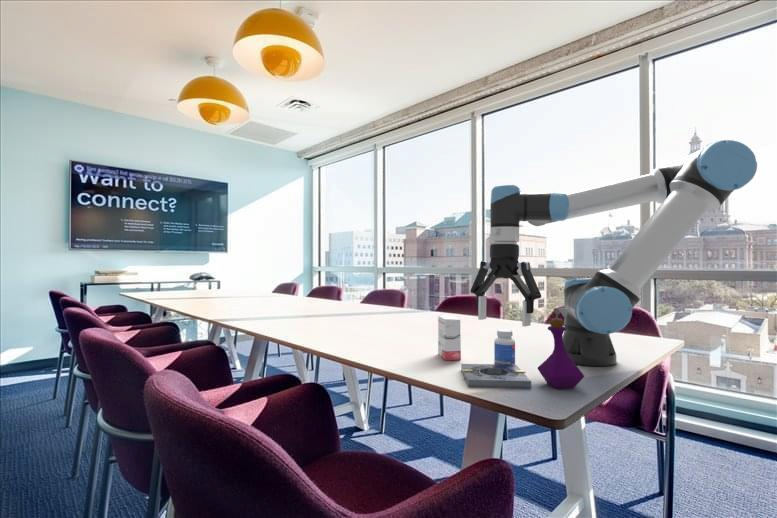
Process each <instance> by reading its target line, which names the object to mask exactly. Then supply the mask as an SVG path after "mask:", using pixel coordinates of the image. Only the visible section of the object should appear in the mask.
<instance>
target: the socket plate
mask: <svg viewBox="0 0 777 518" xmlns="http://www.w3.org/2000/svg"><path fill="white" fill-rule="evenodd" d="M461 372H462V375H463V377H464V380H465V382H466V384H467V387H468V388H473V387H474V388H504V389H505V388H506V389H507V388H509V389H510V388H511V389H517V388H518V389H532V380H531V379H530V378H529V377H528V376H527V375H526V373H527V371H526V370H522V369H520V368H519V366H518V365H517V364H515V365H502V364H494V363H491V364H490V363H489V364H488V363H486V364H485V363H481V364H480V363H461Z"/></svg>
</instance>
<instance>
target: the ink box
mask: <svg viewBox="0 0 777 518" xmlns="http://www.w3.org/2000/svg"><path fill="white" fill-rule="evenodd" d="M437 317H438V318H437V321H438V322H437V329H438V331H437V333H438V334H437V336H438V339H437V341H438V342H437V347H438V349H437V354H438V355H439V356H440V357H441V358H442V359H443V360H445V361H461V359H462V354H461V353H462V352H461V350H462V349H461V348H462V347H461V346H462V345H461V340H462V339H461V338H462V337H461V319H460V318H457V317H456V316H454V315H438V316H437Z"/></svg>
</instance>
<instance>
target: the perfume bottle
mask: <svg viewBox="0 0 777 518" xmlns="http://www.w3.org/2000/svg"><path fill="white" fill-rule="evenodd" d="M553 312H554V314H555V316H556V317H554V318H551V319H550V320H549V323H550V326H548V327H547V330H548V331H550V332H551V334H552V336H553V344H554V345H553V346H554V347H553V351H552V352H551V354H550V355H549V357H547V359H545V360H544V361H543V362H542V363H541V364H540V365H539V366H537V370H538V372H539V374H541V376H542V377H543V380H544V381H545V382H546V384H548V385H549V386H551V388H554V389H556V390H564V389H565V390H567V389H569V390H570V389H571V390H572V389H574V388H575V387H576V386H577V385H578V384H579V383H580V382H581V381H582V380H583V379H584V378H585V375H584V373H583V372H582V371H581V369H580V368H579V367H578V366H577V364H575V363H574V362H573V360H572V359H571V358H570V357H569V355H568V354H567V352H566V350H565V347H564V343H563V339H562V337H563V334H564V331H565V330H566V328H565V327H564V320H563V319H562V318H558V316H559V314H561V315H562V316H563V318H565V317H566V316H567V313H568V308H564V307H554V308H553Z"/></svg>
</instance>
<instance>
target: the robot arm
mask: <svg viewBox="0 0 777 518" xmlns="http://www.w3.org/2000/svg"><path fill="white" fill-rule="evenodd" d="M756 159H757V158H756V155H755V153H754V152H753V150H752V149H751V148H750V147H749V146H748V145H746V144H744V143H742V142H741V141H737V140H734V139H733V140H732V139H724V140H719V141H715V142H711V143H708V144H707V145H705V146H704V147H703V148H701V149H699V150H697V151H695V152H694V153H691V154H689V155H687V156H685V157H683V158H681V159H680V160H678V161H676V162H674V163H671V164H668V165H666V166H662V167H658V168H654V169H652V170H651V172H650V173H649V174H645V175H640V176H635V177H630V178H627V179H622V180H617V181H612V182H609V183H605V184H600V185H596V186H591V187H586V188H581V189H578V190H574V191H573V190H572V191H570V192H562V191H560V192H558V191H557V192H556V191H552V192H551V191H550V192H548V191H547V192H521V187H520V186H519V185H516V184H501V185H500V184H499V185H495V186H494V187H493V188H491V191H490V192H491V193H490V228H489V229H490V231H489V233H490V234H489V236H490V237H489V238H490V239H489V240H490V242H491V243H492V244H490V246H489V257H490V261H488V260H481V261H480V263H479V270H478V272H477V274H476V277H475V278H474V281H473V284H472V286H471V288H470V291H469V292H470V293H471V294H474V295H475V297H476V302H475V303H476V307H477V308H478V309H477V310H478V311H477V313H478V320H480V321H482V320H487V295H486V293H487V291H488V290H489V289H490V287H491V286H492V285H493V284H494V282H495V281H496V280H497V279H510V280H511V281H512V282H513V284H514V285H515V286H516V288H517V290H518V291H519V292H520V293H521V295H522V296H523V298H524V300H522V316H521V317H522V321H521V322H522V324H521V326H522V327H529V326H531V323H532V322H531V317H532V315H531V314H534V309H535V308H534V304H535V300H538V299H541V298H542V293H541V292H540V291H541V290H540V289H539V287H538V284H537V283H536V280H535V277H534V275H533V273H532V271H531V263H530V261H522V262H519V257H520V245H519V244H517V243H519V242H520V222H527V223H528V224H530V225H532V226H535V227H540V226H544V225H546V224H551V223H556V222H564V221H565V220H569V219H575V218H579V217H583V216H584V217H585V216H588V215H594V214H598V213H603V212H604V213H605V212H608V211H613V210H617V209H622V208H623V209H624V208H627V207H632V206H636V205H642V204H645V203H652V202H656V203H658V204H660V205H659V206H658V207H657V209H656V210H655V211H654V213H653V214H652V215H651V216H650V217H649V218H648V219H647V221H646V222H645V223H644V225H643V226H641V228H640V229H639V231H638V232H637V233H636V234H635V235H634V236H633V238H632V239H631V240H630V241H629V242H628V244H627V245H626V246H625V247H624V249H623V250H622V251H621V252H620V253H619V255H618V256H617V257H616V258H615V260H614V261H613V262H612V263H611V264H610V266H608V268H607V269H601V270H597V271H596V272H595V273H594V275H593V276H591V277H590V278H572V279H571V278H570V279H568V280H566V281H565V282H564V288H563V293H564V297H563V298H564V299H563V300H564V302H563V303H564V305H563V308H568V313H567V316H566V317H565V318H564V317H563V318H564V320H563V327H565V328H566V330H565V331H564V332H563V335H562V339H563V343H564V347H565V350H566V352H567V354H568V355H569V357H570V358H571V359H572V360H573V362H574V363H575V364H576V365H581V366H587V367H589V366H591V367H608V366H609V367H610V366H614V365H617V353H616V349H615V347H614V344H613V341H612V339H611V334H614V333H615V334H616V333H618V332H619V331H621V330H623V329H625V328H626V326H627V325H628V324H629V323H630V321H631V319H632V315H633V309H634V308H635V307H636V305H637V304H638V303H639V301H640V300H641V299H642V298H641V297H642V296H641V292H640V290H641V288H643V286H644V285H645V284H646V283H647V281H649V279H650V278H651V277H652V276H653V274H654V273H655V272H656V271H657V270H658V269H659V267H660V266H661V265H662V264H663V263H664V261H665V260H666V259H667V258H668V257H669V256H670V254H671V253H673V251H674V250H675V249H676V247H678V245H679V243H680V242H682V240H683V239H684V238H685V237H686V236H687V234H688V233H690V231H692V229H693V228H694V227H695V225H696V224H697V223H698V221H700V219H701V218H702V217H703V216H704V215H705V213H707V212H709V211H713V210H714V211H715V210H718V209H719V208H720V207H721V206H722V205H723V204H724V202H725V201H726V200H727V199H728V198H729V196H731V195H732V193H733V192H734V191H736V190H739V189H742V188H743V187H744V186H746V185H748V184H749V183H750V182H751V181H752V180H753V178H754V177H755V176H756V173H757V169H758V162H757V160H756ZM489 269H491V270H490V272H489V273H488V271H489ZM519 270H520V271H521V273H522V275H520V273H519V272H518V271H519ZM487 274H488V275H487ZM486 276H487V277H486ZM522 276H523V278H522ZM523 279H524V280H523ZM524 281H525V282H524Z"/></svg>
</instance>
